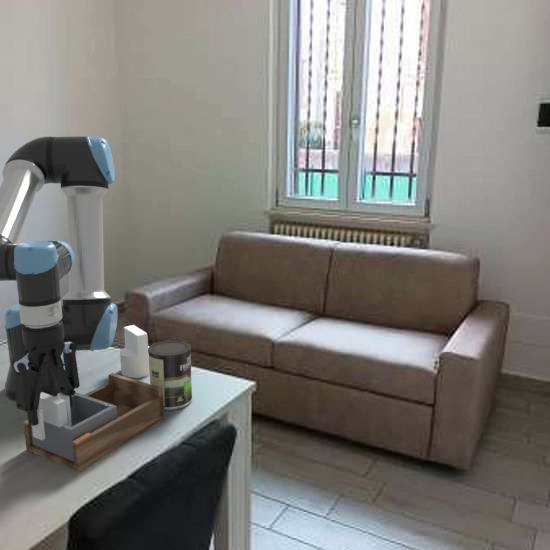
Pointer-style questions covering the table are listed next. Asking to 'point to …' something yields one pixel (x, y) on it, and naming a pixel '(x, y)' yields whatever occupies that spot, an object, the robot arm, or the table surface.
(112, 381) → the bay
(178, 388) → the coffee can
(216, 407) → the table surface
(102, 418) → the box
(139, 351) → the base with upright slab
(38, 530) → the table surface
